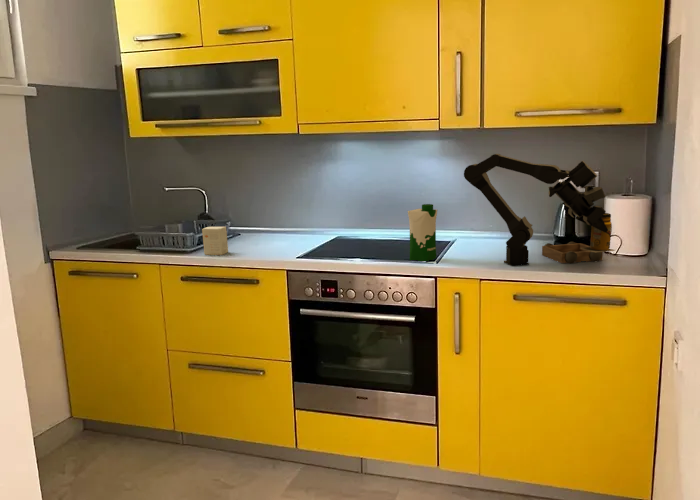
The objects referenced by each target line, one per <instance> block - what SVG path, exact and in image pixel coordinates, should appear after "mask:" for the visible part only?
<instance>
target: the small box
mask: <svg viewBox="0 0 700 500" xmlns="http://www.w3.org/2000/svg"><path fill="white" fill-rule="evenodd" d="M201 233H202V242H203V254H204V255H207V256H209V255H210V256H211V255H212V256H214V255H215V256H223V255H225V254H227V253H229V246H228V245H229V243H228V231H227V226H207V227H204V228H202V229H201Z"/></svg>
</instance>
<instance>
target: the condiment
mask: <svg viewBox="0 0 700 500" xmlns="http://www.w3.org/2000/svg"><path fill="white" fill-rule="evenodd" d="M611 218H612V214H611V213H608V212H605V213H604V214H603V215H602V219H603V221H604V223H605V225H606V227H607V229H608V231H607V232H603V231H601V230H599V229H597V228H595V227H592V226H591V229H590V231H591V232H590V244H589V246H590V247H585V248H581V249H584V250H587V251H591V252H595V253H596V252H603V253H605V252H613V251H616V249H612V248H611V238H612V237H611V236H612V223H613V222H612V219H611Z"/></svg>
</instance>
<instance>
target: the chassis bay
mask: <svg viewBox="0 0 700 500" xmlns="http://www.w3.org/2000/svg"><path fill="white" fill-rule="evenodd" d="M541 247H542V248H541V256H542V257H545V258H547V257H548V259H551V260H552V259H553V261H555V262H557V261H558V262H557V263H560V264H574V263H582V262H581V261H586V262H595V261H597V262H599V261H603V253H604V252H596V253H595V252H591V251H587V250H584V249H581V248H585V247H590V245H587V244H585V243H581V242H580V243H577V242H574V241H569V242H567V243H565V244H553V243H550V242H549V243H545V244H544V245H542V246H541Z"/></svg>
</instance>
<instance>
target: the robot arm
mask: <svg viewBox="0 0 700 500" xmlns="http://www.w3.org/2000/svg"><path fill="white" fill-rule="evenodd" d="M496 167H498V168H502V169H505V170H509V171H512V172H516V173H521V174H525V175H529V176H530V177H533V178H535V180H536V179H537V181H541V182H543V183H545V184H547V185H552V184H554V185H552V186H548V196H549V198H551V197H553V196H554V195H555V194H556V195H557V197H558V198H559V199H560V200H561V201H562V202H563V204H564V205H565V207H567V208H568V210H567V214H568V215H570V217H572V218H575V220H577V221H579V222H582V223H583V224H586V225H587V226H591V228H592V227H595V228H597V229H599V230H601V231H603V232H607V231H608V229H607V227H606V225H605V223H604V221H603V219H602V215H603V214H604V213H607V212H606V210H605V208H603V207H602V206H599V205H595V202H596V201H598V200H601V199H604V198H606V194H605V192H604V189H603V188H602V187H600V186H594V187H593V186H592V185H588V184H589V183H591V182H592V181H594V180H595V179H596V178H598V175H597V173H596V172H595V171H594V169H593V168H592V166H591V167H590V166H589V165H588V164H587V163H586V162H585V161H584V160H581V161H580V162H579V163H578V164H577V165H576V166H575V167H574V168H573V169H571V170H564V169H561V168H560V167H559V166H557V165H556V164H544V163H533V162H530V161H529V162H528V161H526V160H525V161H524V160H522V159H517V158H513V157H510V156H505V155H502V154H500V153H493V154H492V155H490V156H489V157H488V158H486V159H484V160H482V161H479V163H474V164H469V165H467V166H466V167H465V169H464V171H463V177H464V179H465V180H466V181H467V182H468V183H469V184H471V186H473V187H474V188H476V189H477V190H478V191H479V192H481V193H482V195H483V196H484V197H485V199H487V201H488V202H489V203H490V205H491V206H492V207H493V208H494V210H496V212H497V213H498V214H499V216H500V217H501V218H502V220H503V221H504V222H505V224H506V226H507V228H508V231H509V233H510V234H511V237H509V239H507V240H506V241H505V244H506V247H505V249H506V251H505V252H506V253H505V260H504V261H503V263H504V264H506V265H509V266H510V267H517V266H530V263H529V256H530V255H529V250H528V246H527V245H526V244H527V243H528V241H530V239H532V238H533V235H534V229H533V224H532V223H530V222H529V221H528V218H527V217H526V216H523V217H522V218H521V217H520V216H519V215H517V214H516V213H515V211H513V209H512V207H511V206H510V205H509V204H508V202H506V200H505V199H504V198H503V196H502V195H501V194H500V193H499V191H498V190H497V189H496V188H495V187H494V185H493V184H492V182H491V180H490V178H489V175H488V172H489V171H491V170H492V169H493V170H494V169H495V168H496ZM561 180H563V181H561ZM555 183H556V184H555ZM572 183H573V184H572ZM587 185H588V186H587ZM579 187H581V188H582V189H583V188H584V187H585V188H584V191H583V192H581V191H579V189H577V188H579Z"/></svg>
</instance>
